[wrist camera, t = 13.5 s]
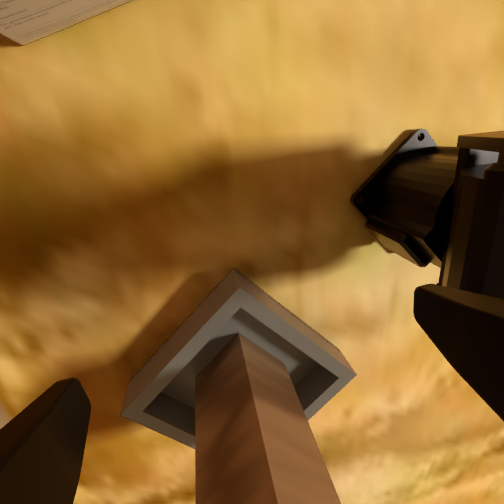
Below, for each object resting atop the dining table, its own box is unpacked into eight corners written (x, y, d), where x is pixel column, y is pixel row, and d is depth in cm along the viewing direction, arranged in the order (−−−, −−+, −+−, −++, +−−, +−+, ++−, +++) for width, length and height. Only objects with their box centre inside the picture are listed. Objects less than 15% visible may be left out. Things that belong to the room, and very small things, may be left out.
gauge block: (238, 332, 22) (282, 525, 11) (284, 363, 24) (362, 556, 13) (195, 377, 23) (196, 600, 12) (242, 404, 25) (282, 620, 14)
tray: (233, 267, 21) (239, 287, 18) (339, 349, 26) (356, 374, 23) (129, 381, 23) (120, 415, 20) (244, 440, 27) (250, 474, 24)
